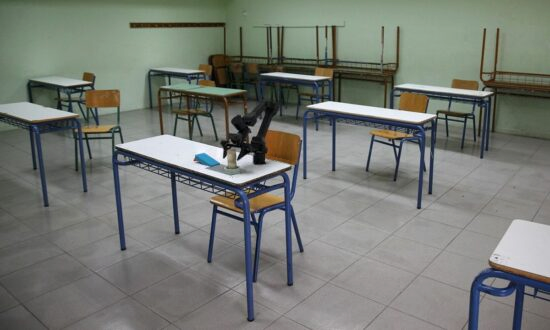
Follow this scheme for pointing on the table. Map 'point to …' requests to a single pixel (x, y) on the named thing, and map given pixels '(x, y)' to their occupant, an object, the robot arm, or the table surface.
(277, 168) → the table surface
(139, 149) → the table surface
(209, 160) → the blue long block
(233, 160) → the birch peg
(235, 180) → the table surface
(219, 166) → the thin grey base plate
